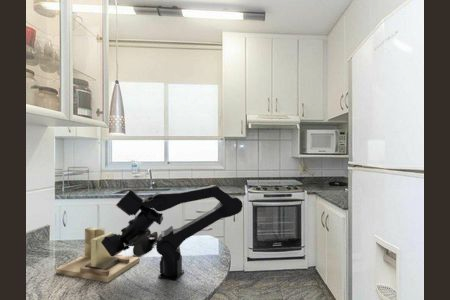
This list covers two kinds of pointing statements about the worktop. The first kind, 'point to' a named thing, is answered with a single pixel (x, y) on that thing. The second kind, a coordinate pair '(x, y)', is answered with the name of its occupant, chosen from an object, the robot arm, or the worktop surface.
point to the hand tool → (153, 235)
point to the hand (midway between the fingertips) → (114, 253)
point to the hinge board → (78, 265)
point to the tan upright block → (101, 255)
